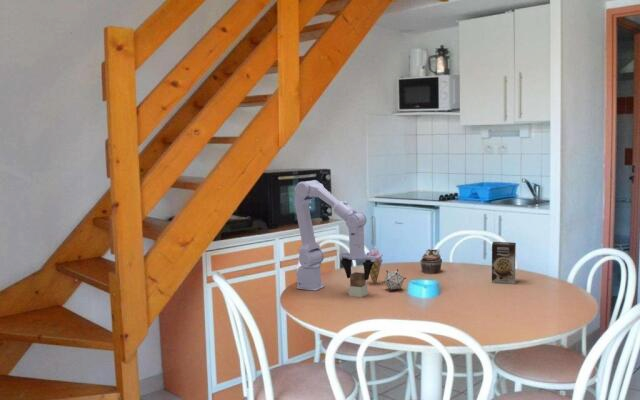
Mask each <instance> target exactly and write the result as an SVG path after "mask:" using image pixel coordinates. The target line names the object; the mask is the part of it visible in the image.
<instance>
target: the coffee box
mask: <svg viewBox="0 0 640 400" xmlns="http://www.w3.org/2000/svg"><path fill="white" fill-rule="evenodd" d="M516 244H517V243H516V242H510V241H509V242H506V241H493V242H492V243H491V283H492V284H493V283H494V284H509V285H515V283H516V257H517V255H516V253H517V252H516V249H517V248H516V247H517V245H516Z"/></svg>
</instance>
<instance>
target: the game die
mask: <svg viewBox="0 0 640 400" xmlns="http://www.w3.org/2000/svg"><path fill="white" fill-rule="evenodd" d="M385 272H386V275H385V277H384V281H381V283H382V284H385V285H386V287H388V288H389V292H391V291H392V290H401V291H402V290H403V289H402V286H403V283H404V281H405V280H406V279H407V277H404V276H403V275H402V274H401V273H400V272H399V269H398V268H397V269H396V270H392V271H388V270H387V269H386V270H385Z"/></svg>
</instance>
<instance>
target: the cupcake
mask: <svg viewBox="0 0 640 400" xmlns="http://www.w3.org/2000/svg"><path fill="white" fill-rule="evenodd" d="M419 262H420V267H421V271H422V273H424V274H427V275H428V274H429V275H434V274H435V275H436V274H440V272H441V268H442V264H443V260H442V258H441V255H440V254H439V250H438V249H430V248H428V249H426V250H425V253H424V254H423V255H422V258H421V260H420V261H419Z"/></svg>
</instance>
